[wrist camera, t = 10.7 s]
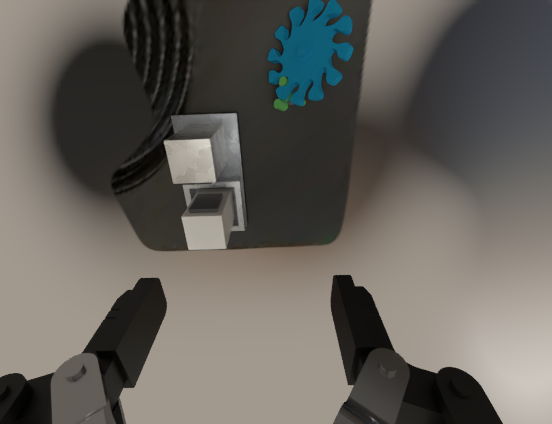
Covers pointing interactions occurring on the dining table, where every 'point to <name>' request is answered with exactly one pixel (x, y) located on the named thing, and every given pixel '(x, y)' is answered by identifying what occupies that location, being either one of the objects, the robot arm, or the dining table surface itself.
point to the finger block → (209, 219)
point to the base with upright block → (208, 157)
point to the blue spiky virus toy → (308, 53)
